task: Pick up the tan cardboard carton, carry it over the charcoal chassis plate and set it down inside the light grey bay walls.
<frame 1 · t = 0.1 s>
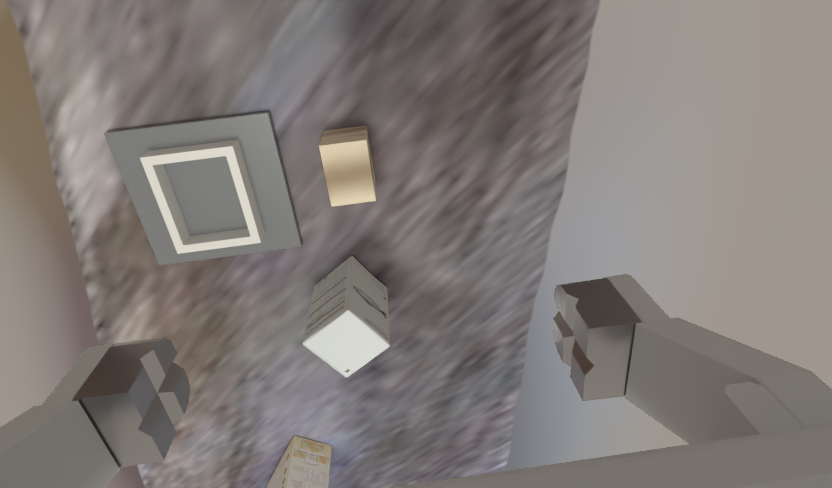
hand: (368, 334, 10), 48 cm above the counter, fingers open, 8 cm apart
coffeecake box: (298, 466, 83), on the counter
tan cardboard carton: (350, 156, 58), on the counter
supplement box: (350, 285, 66), on the counter
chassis: (212, 191, 58), on the counter
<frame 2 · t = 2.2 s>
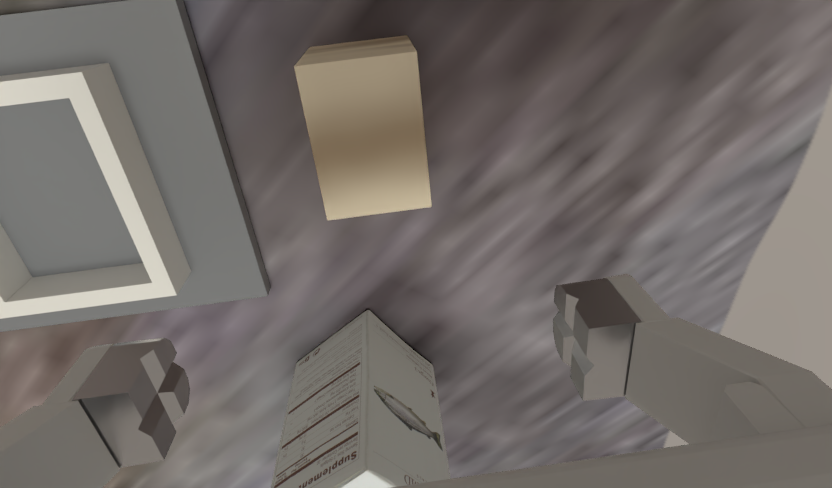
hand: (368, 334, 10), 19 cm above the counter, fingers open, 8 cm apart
tan cardboard carton: (368, 109, 27), on the counter
supplement box: (365, 360, 35), on the counter
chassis: (71, 183, 27), on the counter
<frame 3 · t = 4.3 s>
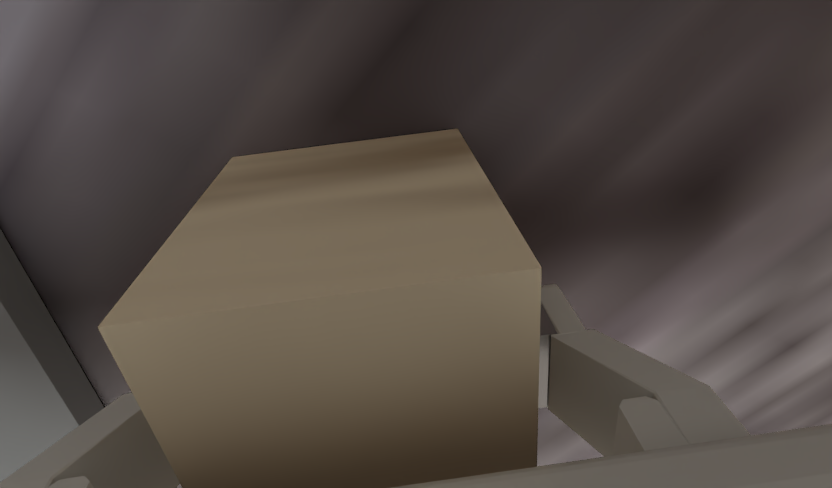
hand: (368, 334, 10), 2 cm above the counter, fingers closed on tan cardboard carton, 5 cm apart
tan cardboard carton: (369, 275, 12), on the counter, touching gripper
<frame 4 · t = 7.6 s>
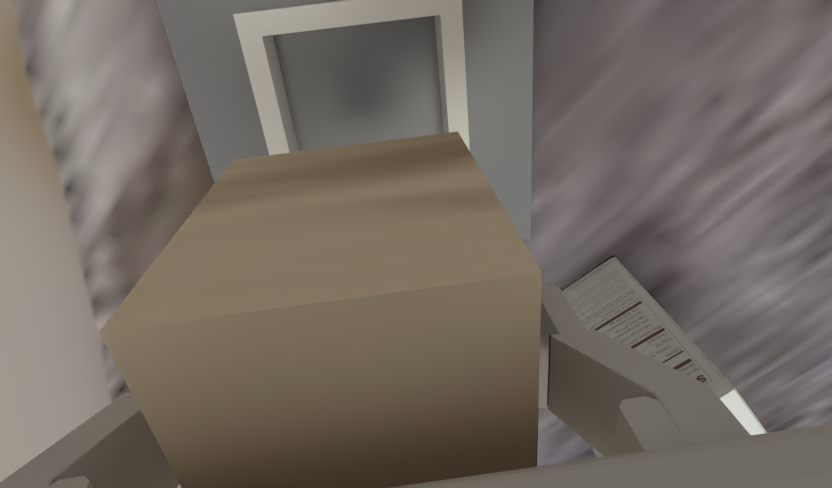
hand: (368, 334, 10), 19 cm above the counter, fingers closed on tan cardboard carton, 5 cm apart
tan cardboard carton: (369, 278, 12), point 17 cm above the counter, touching gripper
supplement box: (592, 312, 35), on the counter
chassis: (368, 118, 27), on the counter
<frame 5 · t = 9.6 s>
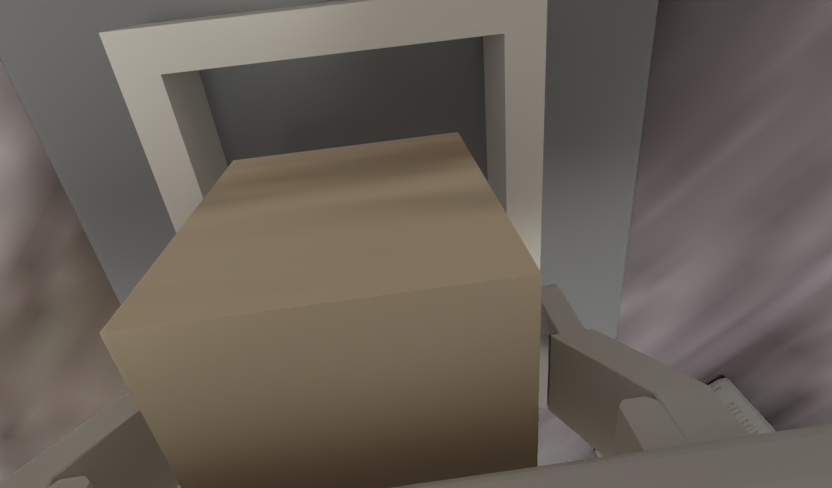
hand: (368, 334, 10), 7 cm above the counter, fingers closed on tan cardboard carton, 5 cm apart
tan cardboard carton: (369, 278, 12), point 5 cm above the counter, touching gripper
supplement box: (683, 442, 25), on the counter
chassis: (367, 193, 17), on the counter
when the fingers open (5 cm above the counter, at t = 11.1 s): tan cardboard carton drops 1 cm, resting on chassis.
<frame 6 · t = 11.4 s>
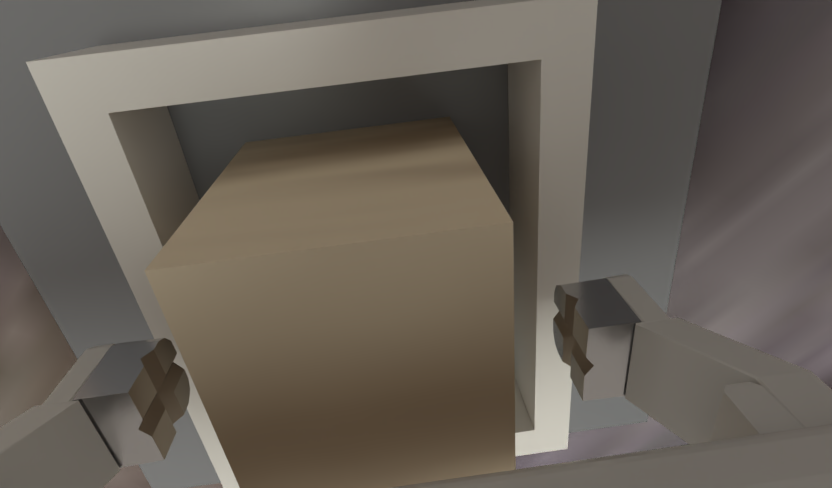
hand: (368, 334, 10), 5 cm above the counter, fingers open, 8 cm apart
tan cardboard carton: (369, 253, 13), point 1 cm above the counter, touching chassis
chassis: (368, 237, 14), on the counter
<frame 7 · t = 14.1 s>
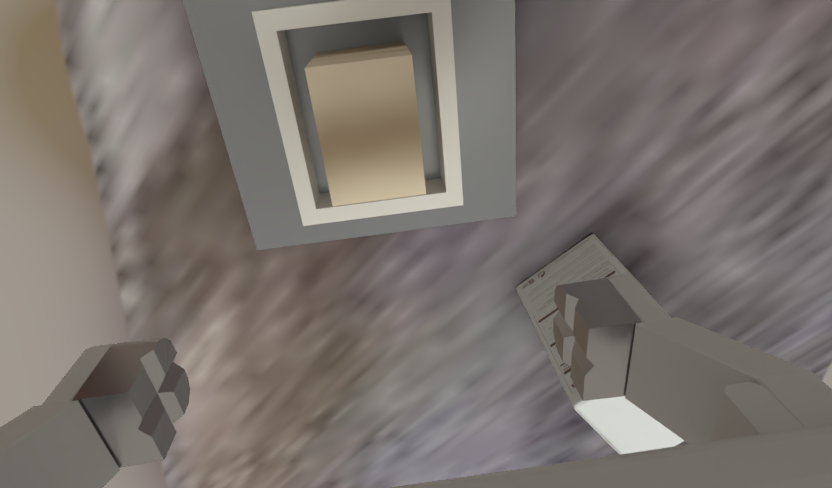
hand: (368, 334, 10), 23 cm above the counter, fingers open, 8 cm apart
tan cardboard carton: (369, 108, 29), point 1 cm above the counter, touching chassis
supplement box: (574, 286, 38), on the counter
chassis: (369, 105, 30), on the counter
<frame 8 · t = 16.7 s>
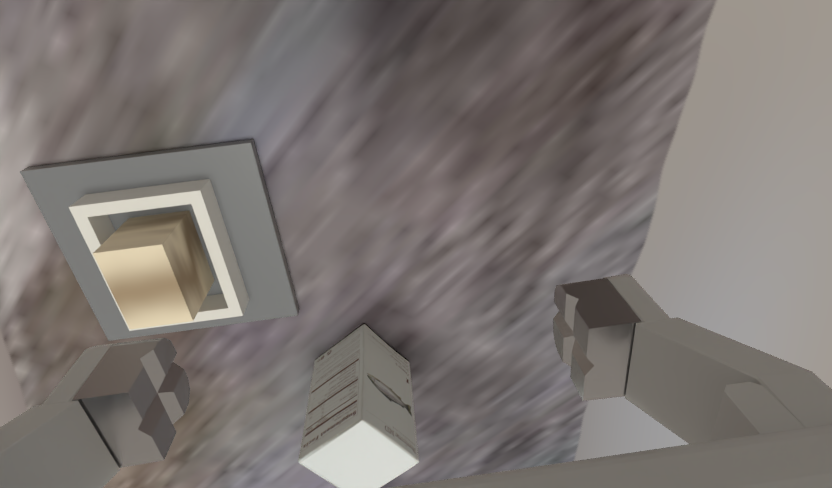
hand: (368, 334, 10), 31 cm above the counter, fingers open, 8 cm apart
tan cardboard carton: (173, 250, 42), point 1 cm above the counter, touching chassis
supplement box: (362, 358, 51), on the counter
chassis: (177, 245, 43), on the counter
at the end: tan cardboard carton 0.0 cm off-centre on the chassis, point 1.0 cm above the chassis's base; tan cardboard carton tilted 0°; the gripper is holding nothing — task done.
